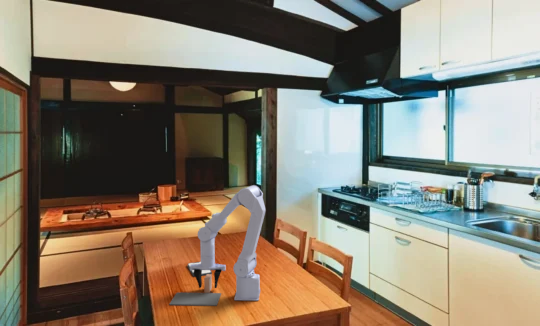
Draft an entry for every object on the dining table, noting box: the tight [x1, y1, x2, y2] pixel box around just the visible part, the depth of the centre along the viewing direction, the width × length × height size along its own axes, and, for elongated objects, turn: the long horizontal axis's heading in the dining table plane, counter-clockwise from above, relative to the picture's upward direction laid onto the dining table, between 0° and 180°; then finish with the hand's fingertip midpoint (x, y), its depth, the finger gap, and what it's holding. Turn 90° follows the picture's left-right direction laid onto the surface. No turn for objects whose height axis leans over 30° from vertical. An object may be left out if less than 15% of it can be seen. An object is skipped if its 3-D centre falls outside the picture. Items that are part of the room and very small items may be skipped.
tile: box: [203, 273, 213, 293], centre depth 149 cm, size 2×5×6 cm, turn 178°
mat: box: [169, 292, 222, 307], centre depth 141 cm, size 18×10×1 cm, turn 88°
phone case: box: [187, 261, 213, 278], centre depth 173 cm, size 9×2×16 cm
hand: (208, 287), depth 149 cm, fingers open, 6 cm apart
